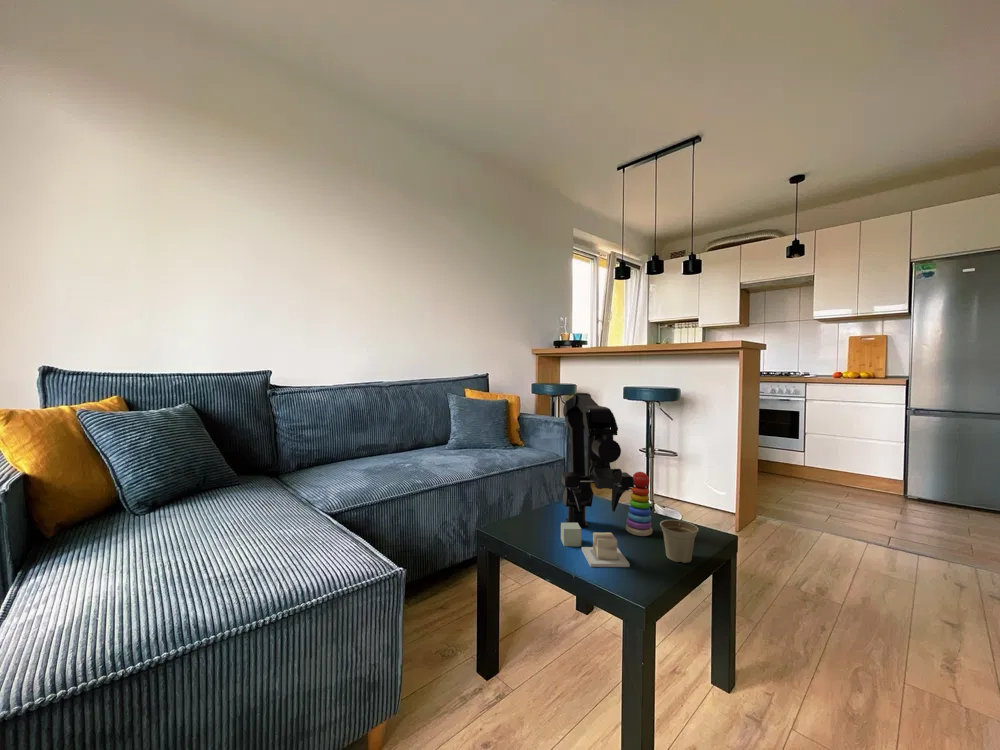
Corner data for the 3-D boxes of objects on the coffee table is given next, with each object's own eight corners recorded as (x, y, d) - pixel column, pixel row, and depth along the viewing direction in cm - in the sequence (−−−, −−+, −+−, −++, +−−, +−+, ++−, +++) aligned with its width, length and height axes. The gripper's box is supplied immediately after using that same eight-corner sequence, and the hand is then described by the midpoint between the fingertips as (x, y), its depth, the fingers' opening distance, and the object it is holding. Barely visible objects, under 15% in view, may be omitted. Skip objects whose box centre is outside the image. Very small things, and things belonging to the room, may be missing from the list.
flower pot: (694, 570, 102) (695, 535, 102) (655, 559, 107) (656, 527, 107) (700, 556, 110) (701, 524, 110) (664, 547, 115) (664, 517, 115)
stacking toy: (647, 539, 121) (648, 476, 121) (621, 532, 126) (622, 472, 126) (655, 531, 127) (656, 471, 127) (630, 525, 132) (631, 468, 132)
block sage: (560, 539, 120) (560, 522, 120) (577, 539, 120) (577, 522, 120) (563, 546, 115) (563, 528, 115) (581, 546, 115) (581, 528, 115)
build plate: (581, 549, 113) (581, 546, 113) (617, 549, 113) (617, 547, 113) (590, 566, 103) (590, 563, 103) (629, 566, 103) (629, 563, 103)
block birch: (592, 550, 110) (593, 532, 110) (611, 550, 111) (611, 532, 111) (597, 559, 105) (598, 540, 105) (616, 559, 106) (617, 540, 106)
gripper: (569, 460, 102) (568, 522, 102) (643, 461, 103) (641, 522, 103) (561, 451, 113) (560, 507, 113) (627, 452, 114) (626, 507, 114)
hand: (596, 511), depth 111 cm, fingers open, 9 cm apart
